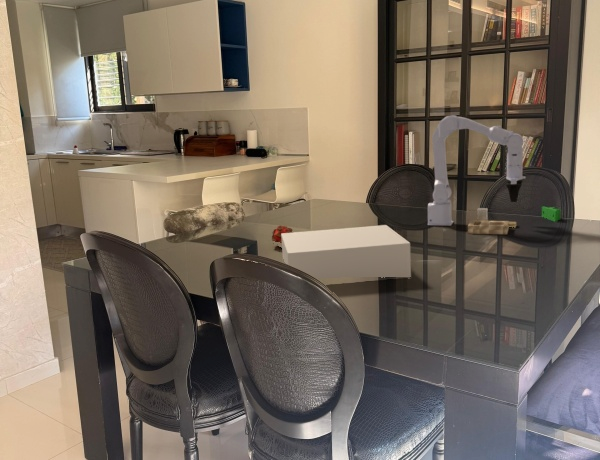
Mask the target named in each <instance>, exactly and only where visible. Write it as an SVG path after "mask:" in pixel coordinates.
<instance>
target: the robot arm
mask: <svg viewBox="0 0 600 460" xmlns="http://www.w3.org/2000/svg"><path fill="white" fill-rule="evenodd" d="M466 129H468V130H471V131H473V132H476V133H479V134H482V135H485V136H487V140H488V141H491V142H494V143H496V144H499V145H502V146H506V147H507V153H506V177H505V179H506V180H507V181H506V182H507V183H506V184H505V185H506V188H507V190H508V194H509V200H510V203H517V202H518V197H519V192H520V189H521V187H522V183H523V179H524V180H525V179H526V176H524V175H523V163H524V162H523V160H524V153H523V150H524V149H523V145H524V138H523V136H522V135H521V134H519V133H517V132H516V133H514V131H513V130H507V129H505V128H502V125H497V126H496V125H494V126H491V127H490V126H486V125H484V124H482V123H479V122H477V121H475V120H473V119H471V118H467V117H464V116H463V117H462V116H457V115H455V114H452V115H446V116H444V118H442V119H441V120H440V121H439V123H438V125H437V126H436V129H435V130H434V132H433V134H432V137H431V138H432V151H433V166H434V167H433V168H434V185H433V188H434V189H433V192H432V199H433V202H429V203H428V204H427V226H452V225H453V223H454V220H452V200H451V199H450V198H451V197H452V194H453V193H452V189H451V187H450V184H449V179H448V167H447V154H446V153H447V151H446V140H447V138H448V137H449V136H451V134H452V133H454V132H455V131H457V130H466Z"/></svg>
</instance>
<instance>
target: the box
mask: <svg viewBox="0 0 600 460" xmlns="http://www.w3.org/2000/svg"><path fill="white" fill-rule="evenodd" d="M292 232H293V231H292ZM281 239H282V250H281V251H282V260H283V259H284V262H285V263H286V264H288V265H290V266H292V267H295V268H298V269H300V270H302V271H304V272H306V273H308V274H310V275H312V276H314V277H315V278H340V277H381V278H383V277H384V278H385V277H411V278H412V270H411V266H412V265H411V263H412V262H411V261H412V260H411V242H410V241H408V240H407V239H406V238H404V237H403V236H402V235H400V234H398V232H396V231H395V230H393V229H392V228H391V227H390V226H388V225H387V224H380V225H369V226H368V225H367V226H359V227H345V228H333V229H331V228H330V229H320V230H309V231H308V230H307V231H296V232H295V231H294V232H293V233H281Z"/></svg>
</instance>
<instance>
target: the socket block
mask: <svg viewBox="0 0 600 460" xmlns="http://www.w3.org/2000/svg"><path fill="white" fill-rule="evenodd" d="M509 222H510V221H509V220H487V221H477V220H470V221H469V223H468V225H467V234H477V235H478V234H479V235H481V234H482V235H508V233H509V229H510V228H509Z"/></svg>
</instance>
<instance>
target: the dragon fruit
mask: <svg viewBox="0 0 600 460" xmlns="http://www.w3.org/2000/svg"><path fill="white" fill-rule="evenodd" d="M271 233H272V236H271V241H272V242H273V241H275V242H280V243H282V239H281V233H293V228H291V227H288V226H287V225H279V226H277V227H276V228H274V229H273V230H272V232H271Z"/></svg>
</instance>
